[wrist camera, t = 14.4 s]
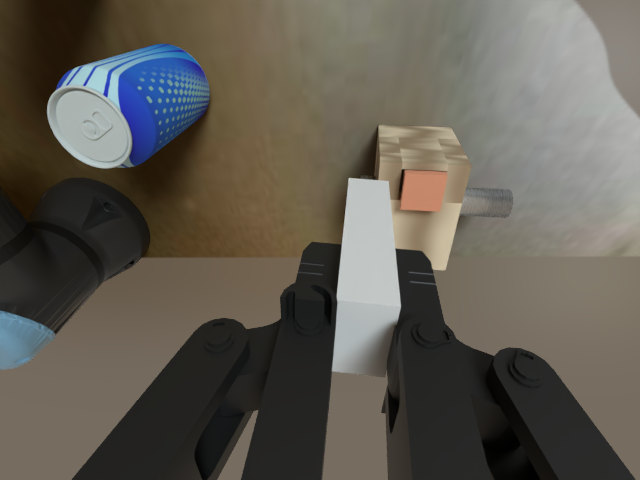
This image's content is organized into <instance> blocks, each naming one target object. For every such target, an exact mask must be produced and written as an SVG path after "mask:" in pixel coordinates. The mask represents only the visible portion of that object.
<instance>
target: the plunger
mask: <svg viewBox="0 0 640 480" xmlns="http://www.w3.org/2000/svg"><path fill="white" fill-rule="evenodd" d="M402 171H403V177H404V179H403V186H402V193H401V201H400V210H419V211H437V212H440V210H441V205H442V200H443V195H444V191H445V186H446V181H447V177H448V175H447V173H446V172H438V171H432V170H408V169H402Z"/></svg>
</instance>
